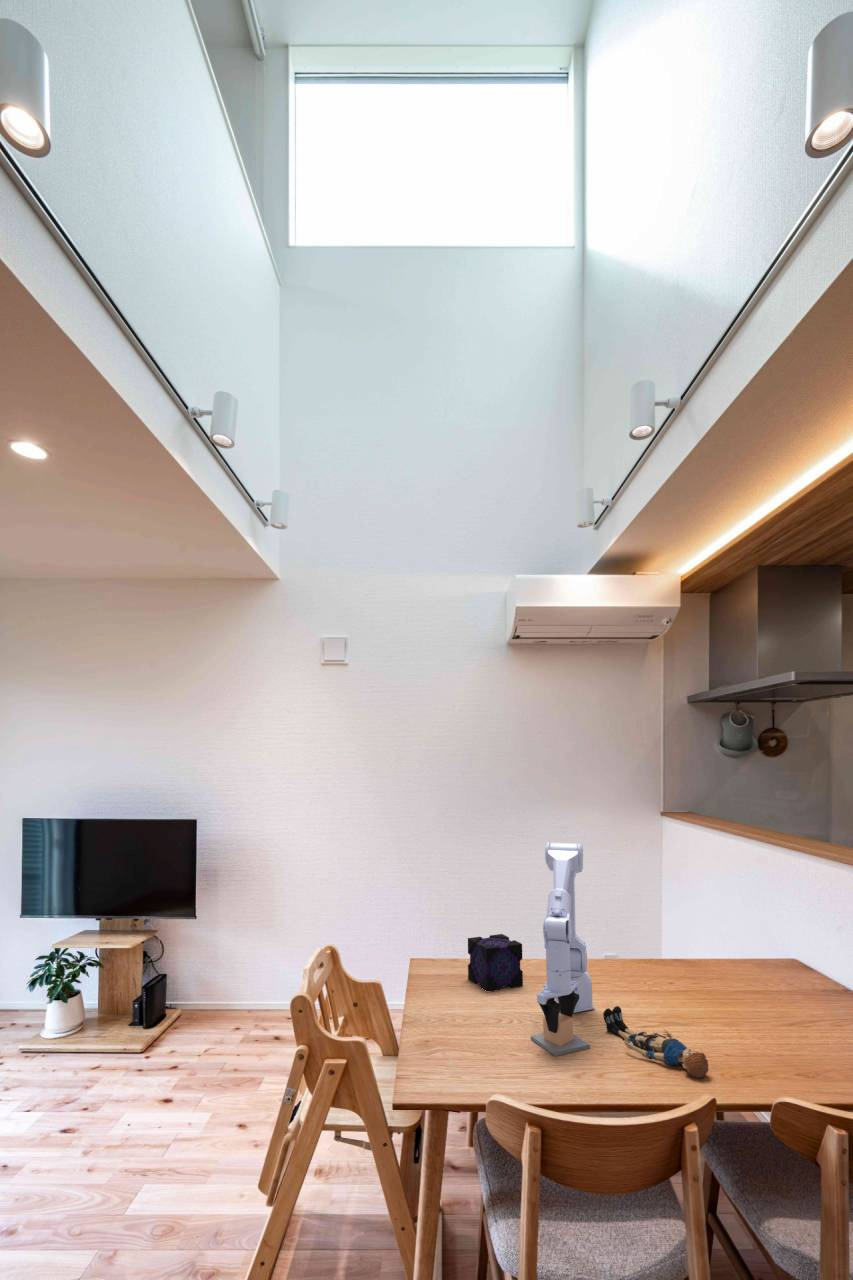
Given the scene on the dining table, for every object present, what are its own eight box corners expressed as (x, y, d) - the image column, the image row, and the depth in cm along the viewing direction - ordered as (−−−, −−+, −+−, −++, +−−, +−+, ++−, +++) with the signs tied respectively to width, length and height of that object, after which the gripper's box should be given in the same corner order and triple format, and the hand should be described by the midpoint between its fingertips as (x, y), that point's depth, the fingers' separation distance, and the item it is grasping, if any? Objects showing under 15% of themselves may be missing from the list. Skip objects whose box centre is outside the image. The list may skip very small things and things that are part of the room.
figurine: (631, 1001, 182) (724, 1042, 155) (632, 1028, 181) (727, 1074, 154) (590, 1011, 176) (680, 1055, 150) (592, 1038, 175) (682, 1088, 149)
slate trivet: (564, 1032, 176) (564, 1028, 176) (590, 1048, 167) (590, 1044, 167) (530, 1039, 172) (530, 1036, 172) (555, 1055, 163) (554, 1052, 163)
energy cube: (486, 992, 205) (486, 948, 206) (468, 979, 216) (467, 938, 217) (522, 986, 209) (522, 943, 211) (502, 974, 220) (502, 933, 222)
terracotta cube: (556, 1033, 174) (555, 1011, 174) (573, 1039, 170) (572, 1017, 171) (543, 1039, 170) (543, 1017, 171) (560, 1045, 167) (560, 1023, 167)
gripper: (562, 958, 180) (563, 1015, 178) (526, 971, 170) (527, 1031, 168) (586, 964, 175) (587, 1023, 173) (550, 978, 165) (551, 1040, 163)
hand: (559, 1028), depth 170 cm, fingers closed on terracotta cube, 5 cm apart
